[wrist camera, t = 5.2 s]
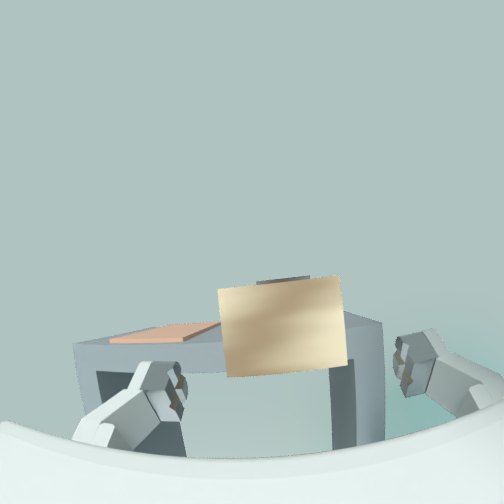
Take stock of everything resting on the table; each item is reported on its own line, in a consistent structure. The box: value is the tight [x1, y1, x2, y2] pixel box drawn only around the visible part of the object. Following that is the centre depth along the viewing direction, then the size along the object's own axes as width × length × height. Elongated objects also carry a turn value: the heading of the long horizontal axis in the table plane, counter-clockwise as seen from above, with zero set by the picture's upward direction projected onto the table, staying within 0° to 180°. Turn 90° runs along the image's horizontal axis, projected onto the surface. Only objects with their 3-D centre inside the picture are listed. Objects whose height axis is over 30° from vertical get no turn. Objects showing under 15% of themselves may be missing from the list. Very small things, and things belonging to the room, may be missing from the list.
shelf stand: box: [73, 311, 385, 457], centre depth 25 cm, size 22×15×26 cm
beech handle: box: [218, 275, 348, 377], centre depth 21 cm, size 5×22×4 cm, turn 174°
